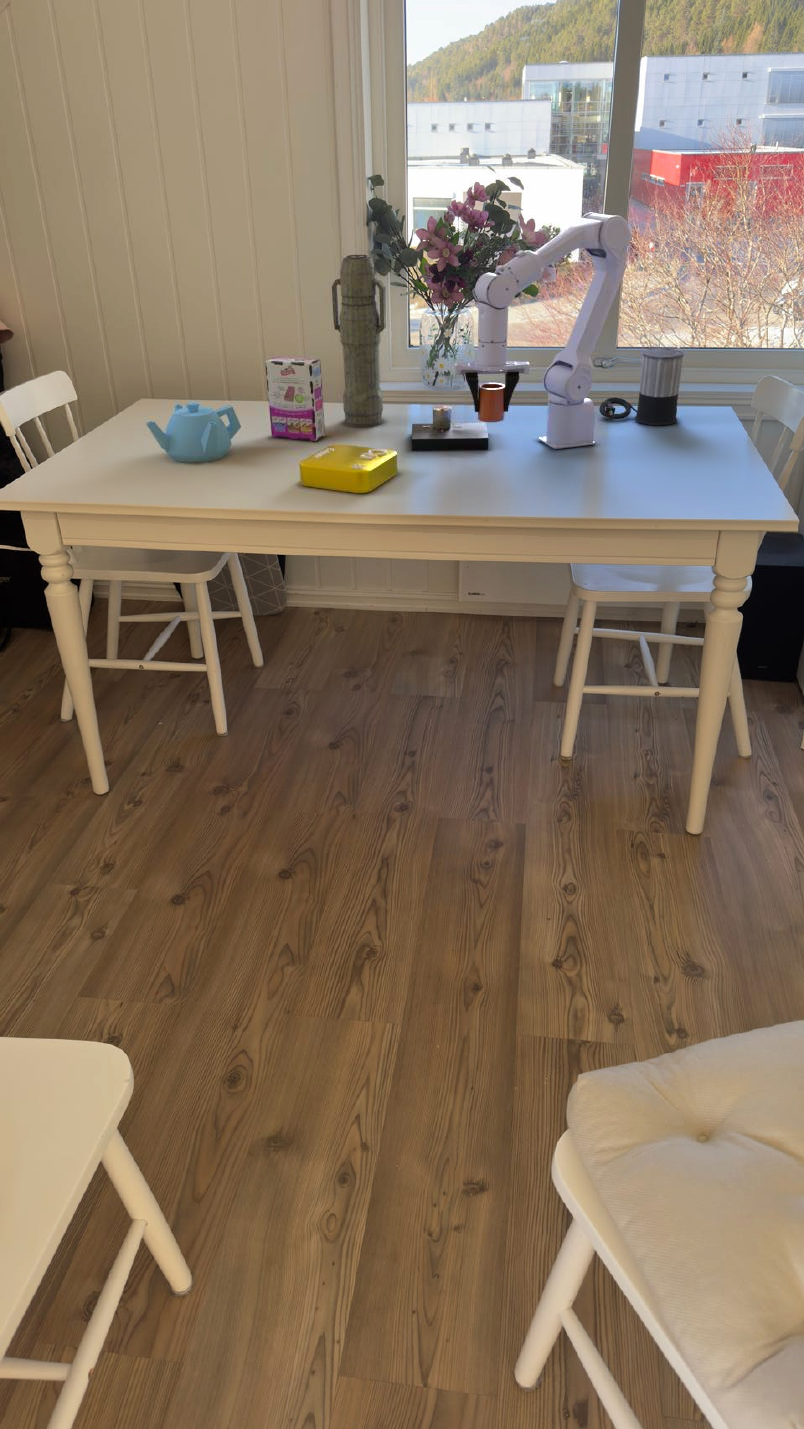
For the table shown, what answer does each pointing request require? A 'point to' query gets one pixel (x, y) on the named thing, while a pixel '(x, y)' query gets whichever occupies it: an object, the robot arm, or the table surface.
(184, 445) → the teapot
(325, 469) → the element tile
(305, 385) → the candy bar box
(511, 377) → the robot arm
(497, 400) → the orange stave barrel
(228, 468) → the table surface
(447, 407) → the dial
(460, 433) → the warming plate
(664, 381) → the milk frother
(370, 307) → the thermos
